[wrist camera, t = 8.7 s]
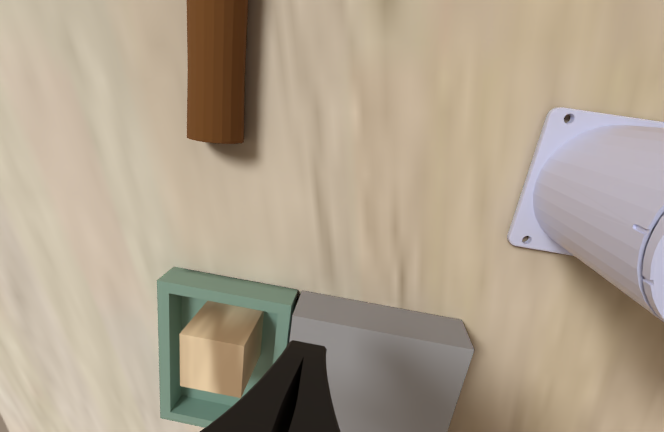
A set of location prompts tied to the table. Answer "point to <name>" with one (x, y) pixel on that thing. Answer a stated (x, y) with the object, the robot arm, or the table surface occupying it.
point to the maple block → (220, 348)
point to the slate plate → (386, 362)
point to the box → (178, 310)
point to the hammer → (216, 70)
